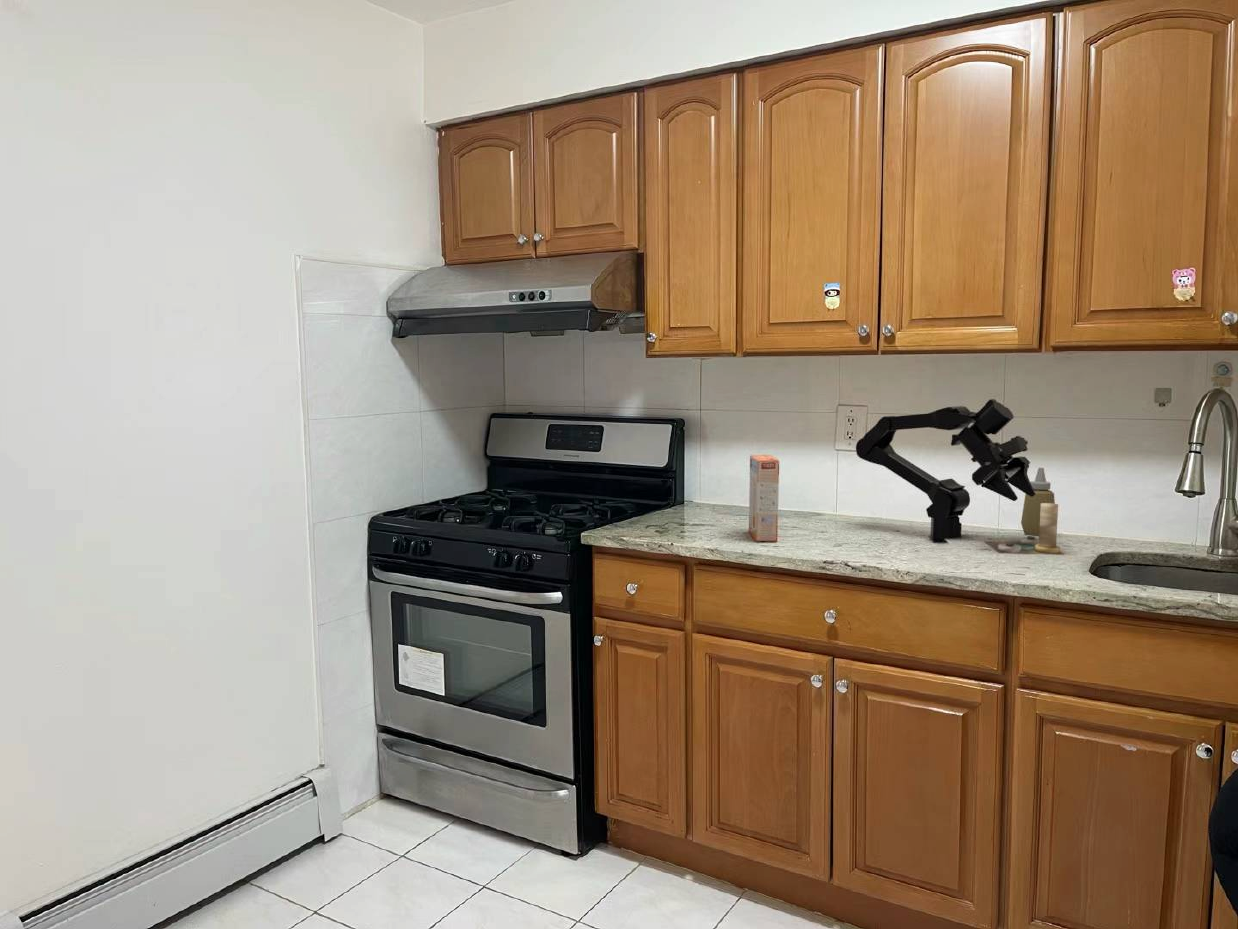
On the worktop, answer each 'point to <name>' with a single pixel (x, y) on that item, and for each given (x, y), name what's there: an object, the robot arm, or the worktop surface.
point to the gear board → (1017, 546)
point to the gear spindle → (1048, 529)
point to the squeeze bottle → (1036, 504)
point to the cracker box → (763, 498)
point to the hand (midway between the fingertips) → (1025, 497)
